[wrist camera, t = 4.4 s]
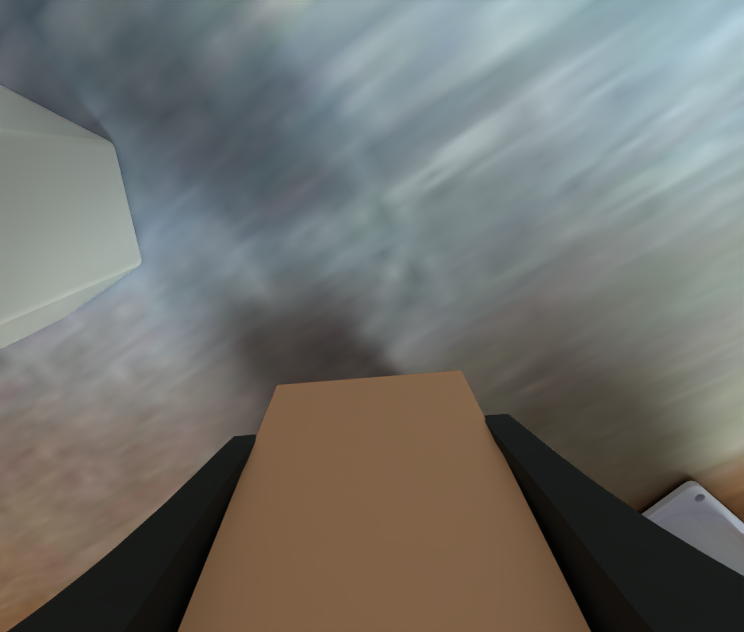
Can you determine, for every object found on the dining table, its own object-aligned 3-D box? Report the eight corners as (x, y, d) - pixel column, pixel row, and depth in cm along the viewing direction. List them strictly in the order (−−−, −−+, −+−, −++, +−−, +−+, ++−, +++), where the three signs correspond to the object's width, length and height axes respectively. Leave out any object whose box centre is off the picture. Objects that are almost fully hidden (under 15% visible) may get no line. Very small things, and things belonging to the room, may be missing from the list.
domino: (277, 384, 11) (108, 802, 4) (461, 370, 11) (657, 763, 4) (288, 445, 11) (165, 895, 4) (461, 432, 11) (624, 863, 4)
